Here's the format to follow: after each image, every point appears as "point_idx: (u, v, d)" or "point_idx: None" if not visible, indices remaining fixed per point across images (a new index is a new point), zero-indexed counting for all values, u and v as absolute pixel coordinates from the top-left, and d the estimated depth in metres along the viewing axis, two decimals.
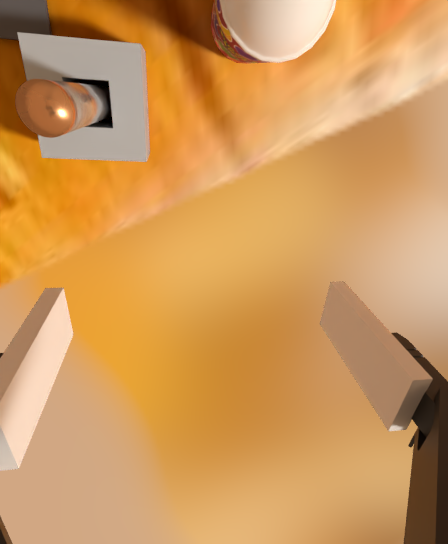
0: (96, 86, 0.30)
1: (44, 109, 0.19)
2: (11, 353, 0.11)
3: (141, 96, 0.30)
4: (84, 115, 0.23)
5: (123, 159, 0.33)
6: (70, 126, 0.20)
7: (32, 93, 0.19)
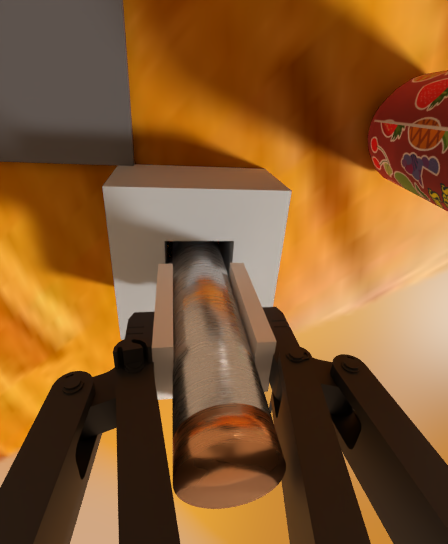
0: None
1: (230, 478, 0.09)
2: (160, 309, 0.13)
3: (278, 257, 0.20)
4: None
5: None
6: None
7: (213, 463, 0.08)
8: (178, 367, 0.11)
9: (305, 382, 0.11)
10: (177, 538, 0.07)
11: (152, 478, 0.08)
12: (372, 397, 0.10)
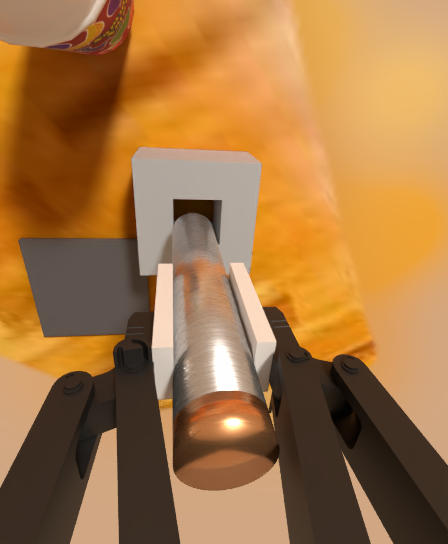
0: (204, 238, 0.20)
1: (227, 460, 0.10)
2: (160, 309, 0.13)
3: (186, 162, 0.24)
4: None
5: (257, 192, 0.26)
6: None
7: (207, 447, 0.09)
8: (175, 362, 0.12)
9: (305, 382, 0.11)
10: (177, 538, 0.07)
11: (153, 477, 0.08)
12: (372, 397, 0.10)
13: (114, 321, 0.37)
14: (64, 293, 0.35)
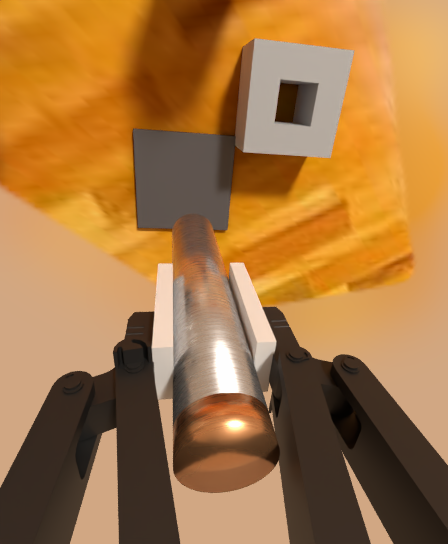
0: (204, 239, 0.20)
1: (227, 462, 0.10)
2: (160, 309, 0.13)
3: (296, 45, 0.30)
4: None
5: (347, 77, 0.32)
6: None
7: (208, 449, 0.09)
8: (176, 364, 0.12)
9: (305, 382, 0.11)
10: (177, 538, 0.07)
11: (152, 478, 0.08)
12: (372, 397, 0.10)
13: None
14: (162, 184, 0.40)
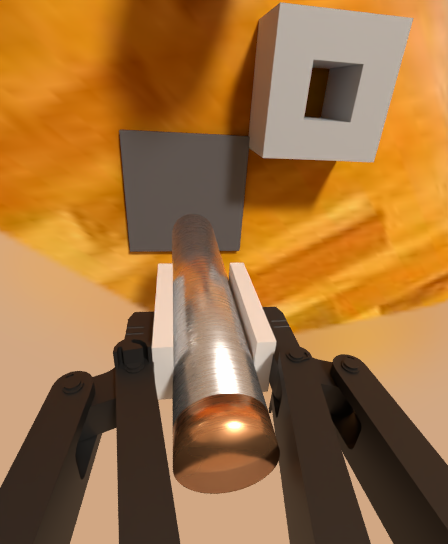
0: (204, 239, 0.20)
1: (227, 463, 0.09)
2: (160, 309, 0.13)
3: (336, 12, 0.22)
4: None
5: (401, 55, 0.24)
6: None
7: (208, 450, 0.09)
8: (176, 364, 0.12)
9: (305, 382, 0.11)
10: (177, 538, 0.07)
11: (152, 478, 0.08)
12: (372, 397, 0.10)
13: None
14: (158, 198, 0.32)
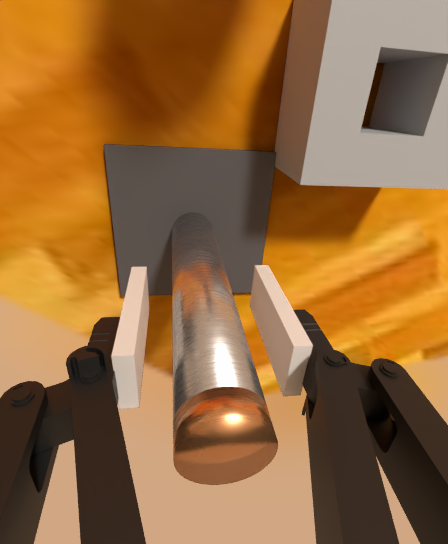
0: (204, 237, 0.20)
1: (226, 454, 0.10)
2: (127, 315, 0.13)
3: None
4: None
5: None
6: None
7: (207, 441, 0.09)
8: (176, 359, 0.12)
9: (342, 386, 0.11)
10: None
11: (115, 489, 0.07)
12: (410, 402, 0.10)
13: None
14: (156, 231, 0.25)
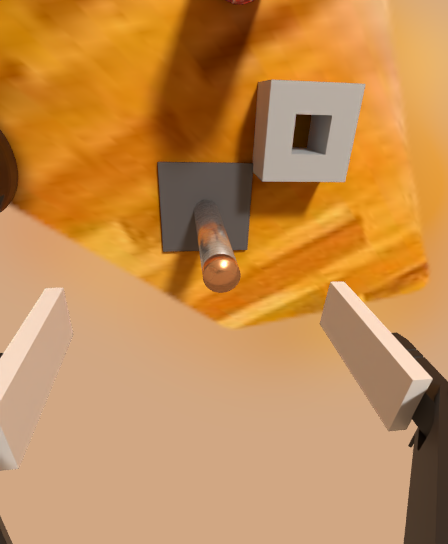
0: (212, 211, 0.38)
1: (221, 276, 0.27)
2: (11, 353, 0.11)
3: (310, 83, 0.32)
4: None
5: (359, 108, 0.34)
6: None
7: (215, 269, 0.27)
8: (202, 252, 0.30)
9: None
10: None
11: None
12: None
13: None
14: (185, 211, 0.43)
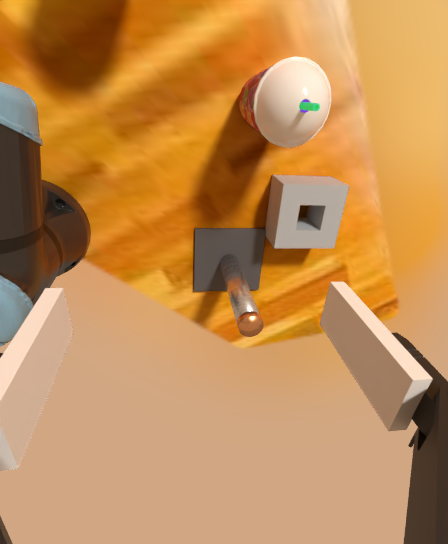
0: (236, 267, 0.51)
1: (251, 326, 0.41)
2: (11, 353, 0.11)
3: (310, 185, 0.46)
4: None
5: (344, 201, 0.48)
6: None
7: (247, 322, 0.40)
8: (235, 307, 0.43)
9: None
10: None
11: None
12: None
13: None
14: (212, 262, 0.56)
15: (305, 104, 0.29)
